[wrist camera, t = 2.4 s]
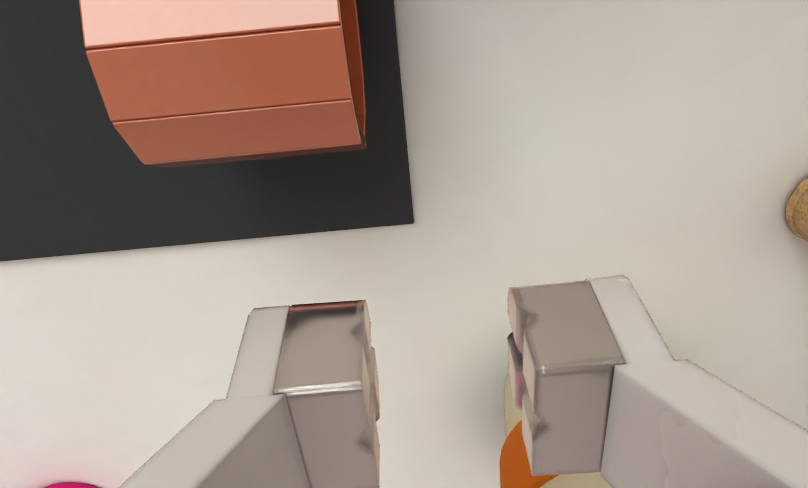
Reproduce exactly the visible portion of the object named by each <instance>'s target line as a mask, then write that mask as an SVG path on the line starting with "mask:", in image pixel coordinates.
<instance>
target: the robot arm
mask: <svg viewBox="0 0 808 488" xmlns="http://www.w3.org/2000/svg"><path fill="white" fill-rule="evenodd" d="M508 316H509V320H510V324H511V328H512V333H511V334H510V335H509V336H508V363H509V375H510V381H511V387H512V392H513V397H514V401H515V406H516V407H517V408H519V409H520V410H521V411H522V436H523V440H524V444H525V448H526V452H527V456H528V461H529V465H530V469H531V473H532V476H541V475H559V474H577V473H595V472H601V475H600V476H601V477H602V478H603V479H604V480H605V481H606V482H607V483H608V484H609V485H610V486H611V487H612V488H808V430H806V429H804V428H802V427H801V426H799V425H797V424H796V423H794V422H792V421H791V420H789V419H787V418H786V417H784V416H782V415H780V414H779V413H777V412H775V411H774V410H772V409H770V408H769V407H767V406H765V405H764V404H762V403H760V402H758V401H757V400H755V399H753V398H752V397H750V396H748V395H747V394H745V393H743V392H741V391H740V390H738V389H736V388H735V387H733V386H731V385H730V384H728V383H726V382H725V381H723V380H721V379H719V378H718V377H716V376H714V375H713V374H711V373H709V372H708V371H706V370H704V369H702V368H701V367H699V366H697V365H696V364H694V363H692V362H691V361H689V360H674V358H673V356H672V354H671V352H670V351H669V349H668V347H667V345H666V344H665V342H664V340H663V338H662V336H661V335H660V333H659V331H658V329H657V327H656V326H655V324H654V322H653V320H652V319H651V317H650V315H649V313H648V311H647V310H646V308H645V306H644V304H643V302H642V301H641V299H640V297H639V295H638V294H637V292H636V290H635V288H634V286H633V285H632V283H631V281H630V279H629V278H627V277H626V276H624V275H619V276H610V277H601V278H593V279H585V281H575V282H565V283H554V284H543V285H533V286H522V287H511V288H509V292H508ZM379 418H380V406H379V383H378V372H377V363H376V355H375V349H374V348H373V347H372V346H371V322H370V317H369V311H368V306H367V303H366V300H358V301H344V302H329V303H314V304H299V305H292V306H276V307H263V308H254V309H253V310H252V312H251V313H250V314H249V315H248V318H247V322H246V326H245V329H244V333H243V337H242V340H241V344H240V348H239V351H238V355H237V359H236V363H235V366H234V370H233V374H232V377H231V381H230V385H229V388H228V392H227V396H226V399H221V400H214V401H212V402H211V403H210V404H209V405H208V406H207V407H206V408H205V409H204V410H203V411H202V412H200V413H199V414H198V415H197V416H196V417H195V418H194V419H193V420H192V421H191V422H189V423H188V424H187V425H186V426H185V427H184V428H183V429H182V430H181V431H180V432H179V433H177V434H176V435H175V436H174V437H173V438H172V439H171V440H170V441H169V442H168V443H167V444H165V445H164V446H163V447H162V448H161V449H160V450H159V451H158V452H157V453H156V454H154V455H153V456H152V457H151V458H150V459H149V460H148V461H147V462H146V463H145V464H144V465H142V466H141V467H140V468H139V469H138V470H137V471H136V472H135V473H134V474H133V475H132V476H130V477H129V478H128V479H127V480H126V481H125V482H124V483H123V484H122V485H121V486H119V487H118V488H379V462H380V444H379V438H378V431H377V425H376V421H377V420H378V419H379Z"/></svg>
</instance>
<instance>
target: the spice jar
mask: <svg viewBox="0 0 808 488" xmlns="http://www.w3.org/2000/svg"><path fill="white" fill-rule="evenodd" d="M785 214H786V221H787V223H788V225H789V227H790V229H791V230H792V231H793V232H794V233H795V234H796V235H798V236H799V237H801V238H803V239H805V240H806V241H807V242H808V177H807V178H806V179H805V180H803V181H802V182H801V183H800V184H799V185H798V187H797V188H796V190H795V191H794V193H793V194H792V195H791V197H790V199H789V201H788V203H787V207H786V211H785Z"/></svg>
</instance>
